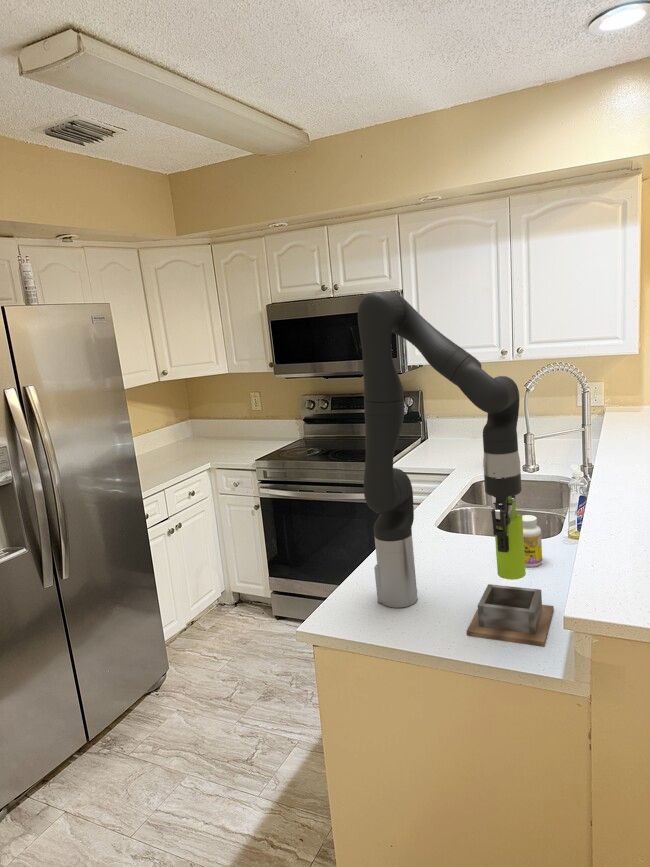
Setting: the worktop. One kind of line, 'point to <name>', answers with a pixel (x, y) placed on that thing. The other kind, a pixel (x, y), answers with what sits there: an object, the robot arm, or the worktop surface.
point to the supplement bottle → (532, 541)
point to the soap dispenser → (512, 549)
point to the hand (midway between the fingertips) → (506, 545)
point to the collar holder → (512, 615)
